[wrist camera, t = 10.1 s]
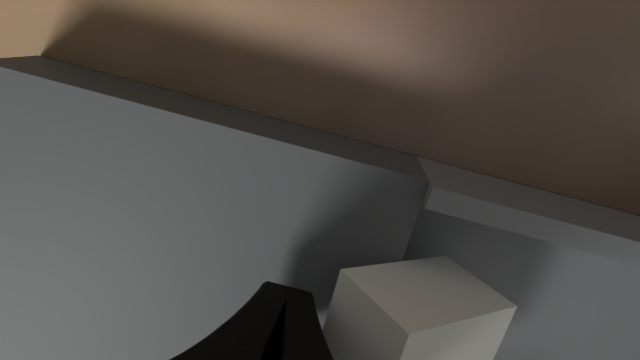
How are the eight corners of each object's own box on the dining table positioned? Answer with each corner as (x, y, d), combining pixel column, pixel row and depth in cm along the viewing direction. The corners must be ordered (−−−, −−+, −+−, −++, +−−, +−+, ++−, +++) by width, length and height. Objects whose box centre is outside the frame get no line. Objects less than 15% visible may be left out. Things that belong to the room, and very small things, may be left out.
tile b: (405, 362, 15) (464, 423, 13) (303, 394, 13) (357, 474, 11) (445, 255, 14) (517, 306, 12) (340, 269, 11) (409, 334, 10)
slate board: (296, 514, 19) (288, 582, 17) (15, 443, 19) (-33, 501, 17) (416, 156, 14) (429, 180, 12) (39, 55, 14) (-25, 60, 12)
